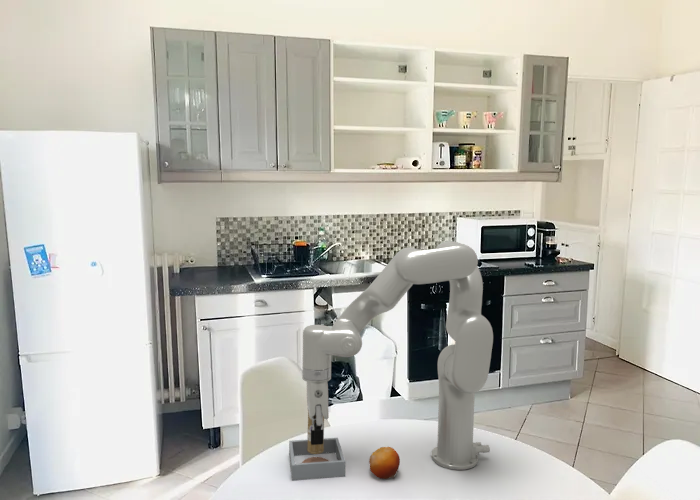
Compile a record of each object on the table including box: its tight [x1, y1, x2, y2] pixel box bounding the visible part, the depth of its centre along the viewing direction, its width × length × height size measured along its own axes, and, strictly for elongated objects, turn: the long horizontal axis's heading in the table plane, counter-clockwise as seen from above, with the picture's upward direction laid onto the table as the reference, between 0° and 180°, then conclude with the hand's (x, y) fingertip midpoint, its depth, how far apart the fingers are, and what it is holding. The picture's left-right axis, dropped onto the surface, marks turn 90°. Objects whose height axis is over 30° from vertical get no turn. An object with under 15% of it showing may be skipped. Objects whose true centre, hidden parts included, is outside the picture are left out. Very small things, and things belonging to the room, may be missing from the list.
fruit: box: [368, 446, 401, 480], centre depth 135 cm, size 8×8×8 cm
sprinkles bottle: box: [306, 407, 325, 455], centre depth 138 cm, size 5×5×14 cm
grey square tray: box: [288, 437, 346, 481], centre depth 139 cm, size 14×14×4 cm
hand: (316, 438), depth 139 cm, fingers closed on sprinkles bottle, 4 cm apart
